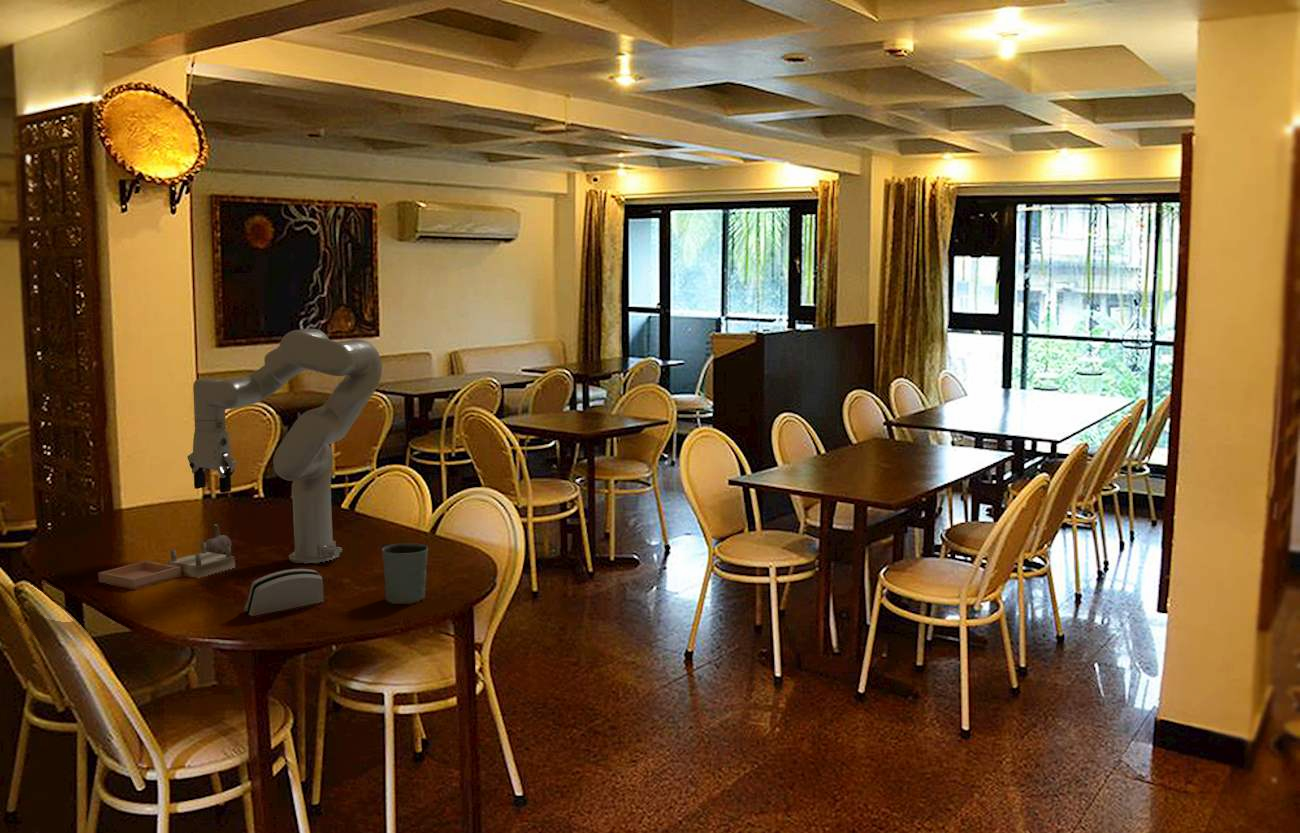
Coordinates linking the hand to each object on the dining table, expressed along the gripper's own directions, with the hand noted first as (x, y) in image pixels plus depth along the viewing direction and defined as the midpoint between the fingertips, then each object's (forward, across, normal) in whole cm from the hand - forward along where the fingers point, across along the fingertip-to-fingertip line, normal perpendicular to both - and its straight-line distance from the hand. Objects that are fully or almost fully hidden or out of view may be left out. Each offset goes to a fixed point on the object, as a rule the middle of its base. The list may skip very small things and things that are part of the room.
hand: (212, 489), depth 293 cm
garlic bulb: (+17, -1, 0) cm, 17 cm away
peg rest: (+17, -12, +14) cm, 25 cm away
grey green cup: (+16, -74, +9) cm, 76 cm away
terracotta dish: (+17, -6, +27) cm, 32 cm away
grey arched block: (+16, -55, +27) cm, 63 cm away
